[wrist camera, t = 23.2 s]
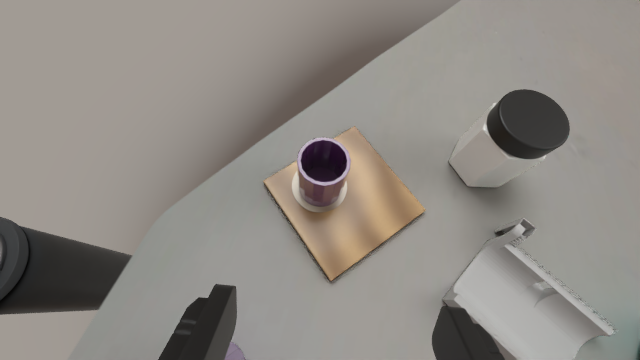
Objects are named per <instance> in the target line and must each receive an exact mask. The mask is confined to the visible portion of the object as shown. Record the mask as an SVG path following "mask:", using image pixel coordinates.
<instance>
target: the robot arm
mask: <svg viewBox="0 0 640 360" xmlns="http://www.w3.org/2000/svg"><path fill="white" fill-rule="evenodd" d="M6 252H7V249H6V242H5V239H4V237H3V236H2V234H1V233H0V271H1V269H2V267H3V265H4V262H5V258H6ZM236 318H237V305H236V286H230V285H219V284H216V285H215V286H214V287H213V289H212V291H211V293H210V295H209V297H208V298H198V299H196V300H195V301H194V302H193V303H192V304H191V305H190V306H189V307H187V309H186V311H185V313H184V314H183V316H182V318H181V320H180V323H178V325H177V327H176V329H175V330H174V334H172V336H171V338H170V339H169V341H168V343H167V345H166V347H165V348H164V350H163V352H162V354H161V356H160V357H159V359H158V360H224V359H225V356H226V354H227V351H228V348H229V345H230V342H231V339H232V336H233V333H234V329H235V325H236ZM432 346H433V351H434V354H435V357H436V359H437V360H505V359H504V357H503V355H502V353H500V350H499V348H498V347H497V345H496V343H495V341H494V340H493V338H492V336H491V335H490V334H489V333H488V332H487V331H486V330H485V329H484V328H483V327H482V326H481V325H480V324H475V323H473V321H472V320H471V318H470V316H469V314H468V312H467V311H466V309H465V308H461V307H450V306H443V307H442V308H441V310H440V313H439V316H438V319H437V322H436V325H435V328H434V331H433V335H432Z"/></svg>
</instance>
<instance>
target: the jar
mask: <svg viewBox="0 0 640 360" xmlns="http://www.w3.org/2000/svg"><path fill="white" fill-rule="evenodd" d="M569 130H570V127H569V121H568V118H567V116H566V114H565V112H564V111H563V109H562V108H561V107H560V106H559V105H558V104H557V103H556V102H555V101H554V100H552V99H551V98H549V97H548V96H546V95H544V94H542V93H539V92H536V91H533V90H525V89H524V90H515V91H512V92H510V93H508V94H506V95H505V96H504V97H503V98H502V99H501V100H500V101H499V102H498V103H494V104H492V105H491V107H490V108H489V109H488V110H487V111H486V112H485V113H484V114H483V115H482V116H481V117H480V118H479V119H478V120H477V121H476V122H475V123H474V124H473V125H472V126H471V127H470V128H469V129H468V130H467V131H466V133H465V134H464V135H463V136H462V137H461V138H460V139H459V140H458V142H457V144H456V147H455V149H454V151H453V153H452V155H451V157H450V159H449V163H450V164H451V166H452V167H453V168H454V170H455V171H456V172H457V173H458V175H459V176H460V177H461V179H462V180H463V181H464V182H465V184H466V185H467V186H469V187H499V186H501V185H503V184H505V183H506V182H508V181H510V180H511V179H513V178H515V177H517V176H518V175H520V174H522V173H523V172H525V171H527V170H529V169H530V168H532V167H534V166H535V165H537V164H539V163H541V162H542V161H544V160H545V159H546V156H547V154H548V153H550V152H551V151H553V150H555V149H556V148H558V147H560V146H561V145H562V144H563V143H564V142H565V141H566V140H567V138H568V135H569Z"/></svg>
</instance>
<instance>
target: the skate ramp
mask: <svg viewBox="0 0 640 360" xmlns="http://www.w3.org/2000/svg"><path fill="white" fill-rule="evenodd" d="M536 229H537V228H536V227H535V226H533V225H532V224H531V223H530V222H528V221H527V220H526V219H525V218H524V217H523V218H521V219H518V220H516V221H513V222H510V223H508V224H505V225H502V226H500V227H498V228H497V230H496V231H495V232H498V231H501V230H502V231H503V232H504V233H506V234H504V235H502V236H499V237H496V238H493V239H490V240H488V241H487V242H486V243H485V245H484V246H483V247H482V248H481V250H480V251H479V252H478V254H477V255H476V256H475V258H474V259H473V260H472V262H471V263H470V264H469V265H468V267H467V268H466V269H465V271H464V272H463V273H462V275H461V276H460V277H459V278H458V280H457V281H456V282H455V284H454V285H453V286H452V287H451V289H450V290H449V291H448V293H447V294H446V295H445V297H444V298H443V299H442V300H443V301H444V302H445V303H446V304H447V305H448V306H450V307H461V308H465V309H466V311H467V312H468V314H469V316H470V318H471V320H472V321H473V323H475V324H480V325H481V326H482V327H483V328H484V329H485V330H486V331H487V332H488V333H489V334H490V335H491V336H492V338H493V340H494V341H495V343H496V345H497V347H498V348H499V350H500V353H502V355H503V357H504V359H505V360H573V359H574V358H575V356H576V354H577V352H578V350H579V349H580V347H581V346H582V345H583V344H584V343H585V342H587V341H588V340H590V339H592V338H594V337H597V336H610V335H611V334H612V332H613V330H614V329H613V328H611V327H610V326H612V325H613V324H612V323H611V322H610V323H611V324H612V325H608V324H607V323H608V322H607V321H606V320H605V319H606V318H605V317H604V318H605V319H602V318H600V317H601V316H600V315H599V316H600V317H598V316H597V315H596V314H595V311H594V310H593V309H594V308H593V307H592V306H591V307H592V308H593V309H592V310H593V311H594V312H592V311H591V310H590V309H589V308H588V307H589V306H588V307H587V306H585V305H584V304H583V303H582V302H581V301H582V300H581V299H582V298H581V297H580V296H579V297H580V298H576V297H575V296H576V295H575V294H574V295H575V296H573V295H572V294H571V293H570V292H569V291H570V290H569V289H568V288H569V287H568V286H567V287H568V288H567V289H568V290H569V291H568V290H566V289H565V288H564V287H563V286H564V285H563V284H562V283H563V282H562V281H561V280H560V281H561V282H562V283H561V284H562V285H560V284H559V283H558V282H557V281H556V280H554V279H553V278H552V277H551V276H550V275H551V274H550V273H548V272H545V271H544V270H545V269H544V268H543V267H544V266H543V265H542V268H543V269H544V270H543V269H541V268H540V267H539V266H538V265H539V264H538V263H537V262H538V261H537V260H535V259H534V261H537V262H536V263H537V264H538V265H537V264H535V263H534V262H533V261H532V260H531V259H532V258H531V257H532V256H531V255H530V254H529V255H530V256H531V257H530V258H531V259H530V258H528V257H527V256H526V255H528V253H525V252H526V251H525V250H524V249H523V250H524V251H525V252H524V253H525V254H526V255H525V254H524V253H522V252H521V251H520V250H519V249H520V248H519V249H518V248H516V247H515V246H517V245H519V243H522V241H524V240H526V239H527V237H528V236H530V235H532V234H533V233H534V232H535V230H536ZM525 236H526V237H525ZM518 238H519V239H521V241H520V240H519V239H518ZM522 238H524V239H522ZM515 239H516V240H517V241H518V242H517V241H516V240H515ZM513 241H514V242H515V243H516V244H515V243H514V242H513ZM548 271H549V270H548ZM549 272H550V271H549ZM549 274H550V275H549ZM554 276H555V275H554ZM555 277H556V276H555ZM556 278H557V277H556ZM556 278H555V279H556ZM558 280H559V279H558ZM543 281H545V282H546V283H547V284H548V285H550V286H551V287H552V288H546V289H544V288H543V287H542V286H541V285H540V284H539V283H538V282H543ZM573 293H575V292H574V291H573ZM578 299H580V300H581V301H579V300H578ZM585 302H586V301H585ZM586 303H587V302H586ZM587 304H588V303H587ZM587 304H586V305H587ZM597 312H598V311H597ZM598 313H599V312H598ZM599 314H600V313H599ZM603 320H605V321H606V322H607V323H606V322H604V321H603ZM615 330H616V329H615ZM617 331H618V329H617ZM613 333H614V332H613ZM616 333H617V332H616ZM616 333H615V334H616ZM615 334H612V335H615Z"/></svg>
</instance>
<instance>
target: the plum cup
mask: <svg viewBox="0 0 640 360" xmlns="http://www.w3.org/2000/svg"><path fill="white" fill-rule="evenodd" d="M350 165H351V159H350V155H349V152H348V150H347V149H346V148H345V147H344V145H343V144H342V143H340V142H338V141H336V140H335V139H332V138H326V137H320V138H314V139H312V140H310V141H309V142H307V143H305V144H304V145H303V147H302V148H301V149H300V151H299V153H298V157H297V174H298V187H299V192H300V195H301V196H302V198H303V199H304V200H305V201H306V202H307V203H309V204H310V205H313V206H316V207H325V206H329V205H331V204H333V203H334V202H336V201H337V200H338V198H339V197H340V195H341V193H342V191H343V188H344V185H345V182H346V179H347V176H348V173H349V171H350Z"/></svg>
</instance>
